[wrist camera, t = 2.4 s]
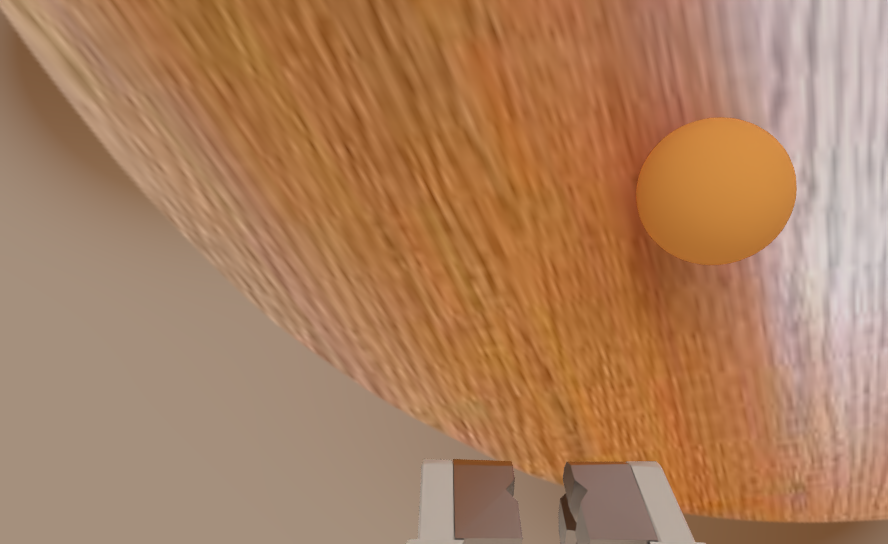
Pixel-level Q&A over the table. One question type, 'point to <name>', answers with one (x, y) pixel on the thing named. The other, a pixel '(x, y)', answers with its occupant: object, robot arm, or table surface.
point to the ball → (716, 191)
